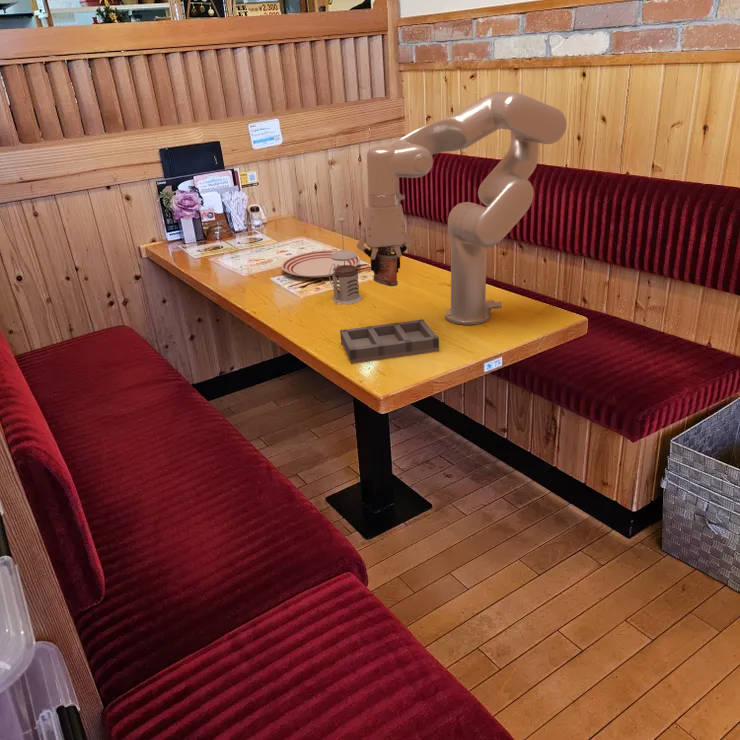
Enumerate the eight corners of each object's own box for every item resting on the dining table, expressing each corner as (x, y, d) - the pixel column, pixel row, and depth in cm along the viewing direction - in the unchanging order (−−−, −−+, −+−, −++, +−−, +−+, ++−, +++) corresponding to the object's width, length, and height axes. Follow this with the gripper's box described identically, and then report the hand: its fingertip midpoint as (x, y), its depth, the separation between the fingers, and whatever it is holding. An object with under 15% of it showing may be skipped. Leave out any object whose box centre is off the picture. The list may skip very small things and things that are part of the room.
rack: (423, 331, 180) (423, 319, 178) (438, 351, 168) (438, 338, 167) (341, 342, 176) (340, 330, 174) (351, 363, 164) (350, 350, 163)
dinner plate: (325, 288, 217) (325, 278, 215) (265, 275, 232) (264, 266, 231) (376, 265, 236) (376, 256, 235) (318, 255, 251) (317, 246, 250)
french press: (369, 296, 207) (364, 215, 196) (346, 308, 198) (341, 224, 187) (343, 291, 212) (338, 212, 201) (320, 303, 204) (313, 221, 193)
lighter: (370, 280, 175) (369, 242, 170) (380, 277, 177) (379, 240, 172) (390, 287, 169) (390, 248, 165) (400, 284, 171) (400, 245, 167)
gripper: (413, 195, 168) (414, 265, 176) (347, 199, 166) (350, 270, 174) (421, 200, 162) (421, 273, 169) (351, 206, 159) (355, 279, 167)
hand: (385, 271), depth 172 cm, fingers closed on lighter, 4 cm apart
